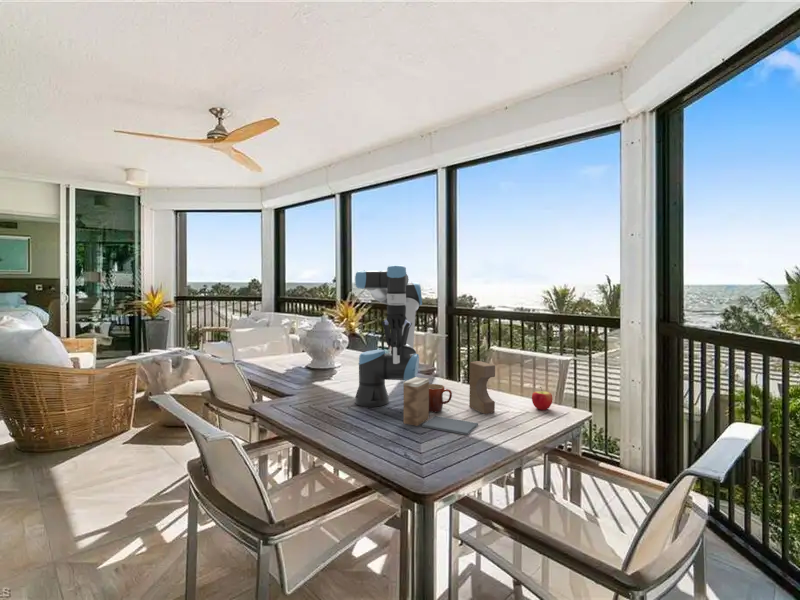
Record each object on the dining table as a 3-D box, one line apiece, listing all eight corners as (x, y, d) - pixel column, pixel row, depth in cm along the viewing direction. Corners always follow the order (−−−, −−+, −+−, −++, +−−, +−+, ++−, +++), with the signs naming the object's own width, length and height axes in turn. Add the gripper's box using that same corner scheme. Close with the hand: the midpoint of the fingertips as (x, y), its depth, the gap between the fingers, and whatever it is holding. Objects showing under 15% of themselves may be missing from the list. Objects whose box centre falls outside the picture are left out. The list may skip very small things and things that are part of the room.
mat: (422, 426, 168) (422, 424, 168) (435, 417, 178) (435, 415, 178) (467, 435, 159) (467, 432, 159) (478, 425, 170) (478, 423, 170)
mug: (421, 412, 186) (421, 388, 185) (426, 406, 194) (426, 383, 193) (449, 415, 182) (449, 390, 181) (453, 409, 190) (454, 385, 189)
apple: (528, 409, 190) (528, 386, 189) (537, 405, 196) (537, 382, 196) (546, 413, 184) (547, 389, 184) (555, 408, 191) (555, 385, 190)
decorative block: (495, 412, 185) (495, 365, 184) (483, 414, 183) (484, 366, 181) (479, 405, 195) (480, 360, 194) (468, 407, 193) (469, 361, 191)
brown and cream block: (403, 423, 172) (403, 382, 171) (415, 416, 181) (415, 377, 180) (417, 425, 169) (417, 384, 168) (428, 418, 178) (429, 378, 177)
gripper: (377, 304, 176) (377, 363, 178) (406, 305, 170) (406, 366, 171) (387, 303, 183) (387, 360, 184) (415, 304, 177) (415, 363, 178)
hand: (396, 363), depth 178 cm, fingers closed
